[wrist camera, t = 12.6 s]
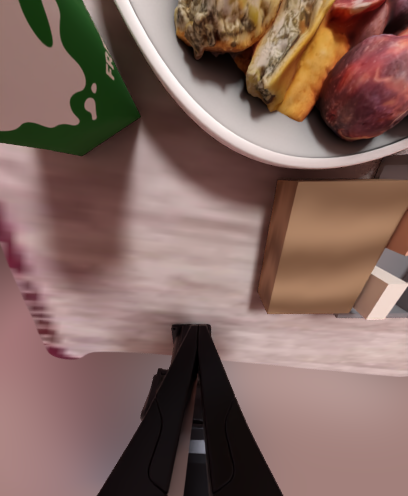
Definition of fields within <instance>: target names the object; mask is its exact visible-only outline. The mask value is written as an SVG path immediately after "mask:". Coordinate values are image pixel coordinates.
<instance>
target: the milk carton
mask: <svg viewBox="0 0 408 496" xmlns="http://www.w3.org/2000/svg"><path fill="white" fill-rule="evenodd" d="M140 117H141V116H140V114H139V112H138V110H137V108H136V106H135V104H134V102H133V100H132V98H131V96H130V94H129V92H128V90H127V88H126V85H125V83H124V81H123V79H122V77H121V75H120V73H119V71H118V69H117V67H116V65H115V63H114V61H113V59H112V57H111V55H110V53H109V51H108V49H107V47H106V45H105V43H104V41H103V40H102V38H101V36H100V34H99V32H98V30H97V28H96V26H95V24H94V22H93V20H92V18H91V16H90V14H89V12H88V10H87V9H86V7H85V5H84V3H83V1H82V0H0V143H6V144H13V145H20V146H27V147H33V148H40V149H47V150H52V151H57V152H62V153H68V154H73V155H79V156H83V155H84V154H86V153H87V152H89V151H90V150H92V149H93V148H95V147H96V146H98V145H99V144H101V143H102V142H104V141H105V140H107V139H108V138H110V137H111V136H113V135H114V134H116V133H117V132H119V131H120V130H122V129H123V128H125V127H126V126H128V125H129V124H131V123H132V122H134V121H135V120H137V119H138V118H140Z"/></svg>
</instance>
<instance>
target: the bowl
mask: <svg viewBox="0 0 408 496" xmlns="http://www.w3.org/2000/svg"><path fill="white" fill-rule="evenodd" d="M114 2H115V4H116V6H117V8H118V10H119V12H120V14H121V16H122V18H123V20H124V22H125V24H126V26H127V28H128V29H129V31H130V33H131V35H132V37H133V39H134V40H135V42H136V44H137V46H138V47H139V49H140V51H141V53H142V54H143V56H144V58H145V59H146V61H147V62H148V64H149V65H150V67H151V69H152V70H153V72H154V73H155V75H156V76H157V78H158V79H159V81H160V82H161V83H162V85H163V86H164V87H165V89H166V90H167V92H168V93H169V94H170V95H171V96H172V98H173V99H174V100H175V101H176V103H177V104H178V105H179V106H180V107H181V108H182V109H183V110H184V111H185V113H186V114H187V115H188V116H189V117H190V118H191V119H192V120H193V121H194V122H195V123H196V124H198V125H199V126H200V127H201V128H202V129H203V130H204V131H206V132H207V133H208V134H209V135H210V136H212V137H213V138H215V139H216V140H217V141H219V142H220V143H222V144H223V145H225V146H227V147H228V148H230V149H231V150H233V151H235V152H237V153H239V154H241V155H244V156H246V157H248V158H251V159H253V160H256V161H259V162H262V163H265V164H269V165H274V166H278V167H285V168H294V169H329V168H339V167H346V166H351V165H356V164H361V163H365V162H369V161H373V160H376V159H379V158H382V157H386V156H389V155H392V154H394V153H397V152H399V151H402V150H404V149H407V148H408V0H114Z"/></svg>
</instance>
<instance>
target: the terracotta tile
mask: <svg viewBox="0 0 408 496" xmlns="http://www.w3.org/2000/svg"><path fill="white" fill-rule="evenodd" d="M386 248H387V249H390V250H392V251H394V252H397V253H399V254H401V255H404V256H408V208H407V210H406V212H405V213H404V215H403V217H402V219H401V221H400V222H399V224H398V226H397V228H396V230H395V231H394V233H393V235H392V237H391V239H390V240H389V242H388V244H387V246H386Z"/></svg>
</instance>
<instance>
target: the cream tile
mask: <svg viewBox="0 0 408 496" xmlns="http://www.w3.org/2000/svg"><path fill="white" fill-rule="evenodd" d="M407 287H408V283H406V282H405V281H403V280H401V279H399V278H397V277H395V276H394V275H392V274H390V273H388V272H386V271H384V270H383V269H381V268H379V267H377V266H375V267H374V269H373V271H372V273H371V275H370V276H369V278H368V280H367V282H366V284H365V285H364V287H363V289H362V291H361V293H360V294H359V296H358V298H357V300H356V302H355V303H354V305H353V308H354V309H355V310H356V311H357V312H358V313H359V314H360V315H361V316H363V317H364V318H365V319H366V320H384V319H385V318H386V316H387V315H388V313H389V312H390V311H391V309H392V308H393V306H394V305H395V303H396V302H397V301H398V299H399V298H400V296H401V295H402V294H403V292H404V291H405V289H406V288H407Z"/></svg>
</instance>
